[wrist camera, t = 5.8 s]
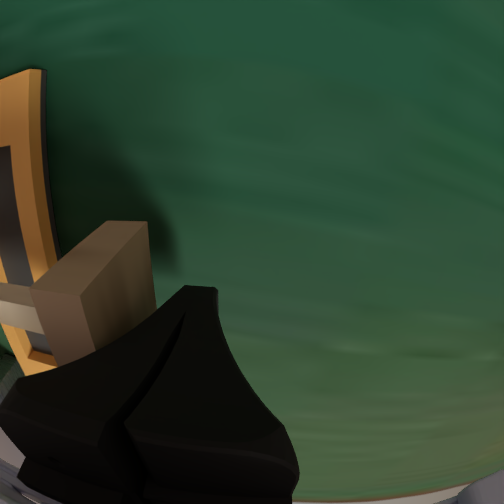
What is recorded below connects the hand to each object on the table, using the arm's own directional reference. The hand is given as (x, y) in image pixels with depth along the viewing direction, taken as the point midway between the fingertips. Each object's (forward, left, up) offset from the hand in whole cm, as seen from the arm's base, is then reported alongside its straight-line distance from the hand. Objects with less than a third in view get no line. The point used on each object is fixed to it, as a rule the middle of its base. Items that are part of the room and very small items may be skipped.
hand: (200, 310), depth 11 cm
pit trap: (0, +10, -2) cm, 10 cm away
